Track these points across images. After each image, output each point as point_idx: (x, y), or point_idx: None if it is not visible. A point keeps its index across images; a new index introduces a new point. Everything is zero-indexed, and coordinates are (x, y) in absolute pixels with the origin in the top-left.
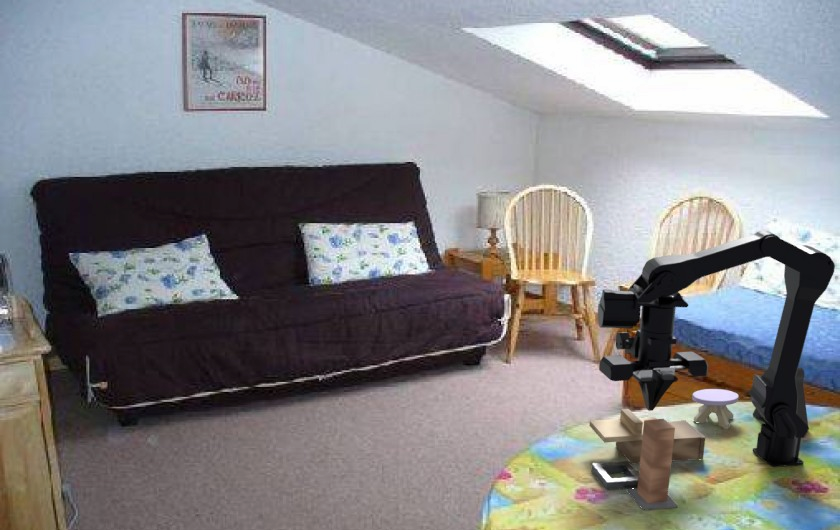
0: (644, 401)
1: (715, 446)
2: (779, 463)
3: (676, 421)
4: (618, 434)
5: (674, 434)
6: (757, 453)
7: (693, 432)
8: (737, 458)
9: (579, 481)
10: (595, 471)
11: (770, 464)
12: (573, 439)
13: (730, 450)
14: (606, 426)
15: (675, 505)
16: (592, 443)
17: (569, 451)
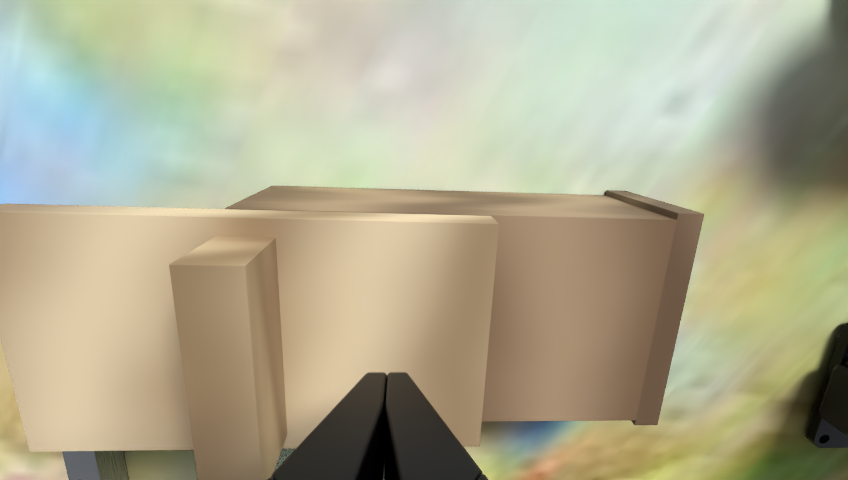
0: (337, 404)
1: (733, 257)
2: (843, 443)
3: (638, 222)
4: (132, 426)
5: (517, 375)
6: (832, 379)
7: (636, 367)
8: (738, 362)
9: (12, 447)
10: None
11: (810, 433)
12: (58, 70)
13: (765, 299)
14: (79, 317)
15: None
16: (157, 135)
17: (10, 202)
